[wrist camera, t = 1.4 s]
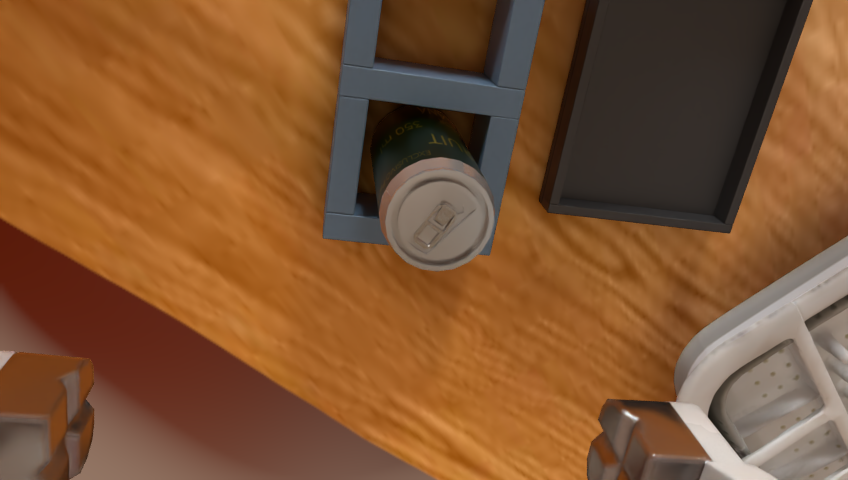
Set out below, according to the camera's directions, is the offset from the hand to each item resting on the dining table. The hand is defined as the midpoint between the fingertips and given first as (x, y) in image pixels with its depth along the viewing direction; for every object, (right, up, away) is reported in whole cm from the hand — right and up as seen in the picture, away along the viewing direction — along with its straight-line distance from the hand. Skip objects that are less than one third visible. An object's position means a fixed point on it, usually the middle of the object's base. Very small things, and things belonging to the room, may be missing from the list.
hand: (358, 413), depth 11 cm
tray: (+15, +12, +31) cm, 37 cm away
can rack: (+1, +12, +29) cm, 32 cm away
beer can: (0, +8, +31) cm, 32 cm away
